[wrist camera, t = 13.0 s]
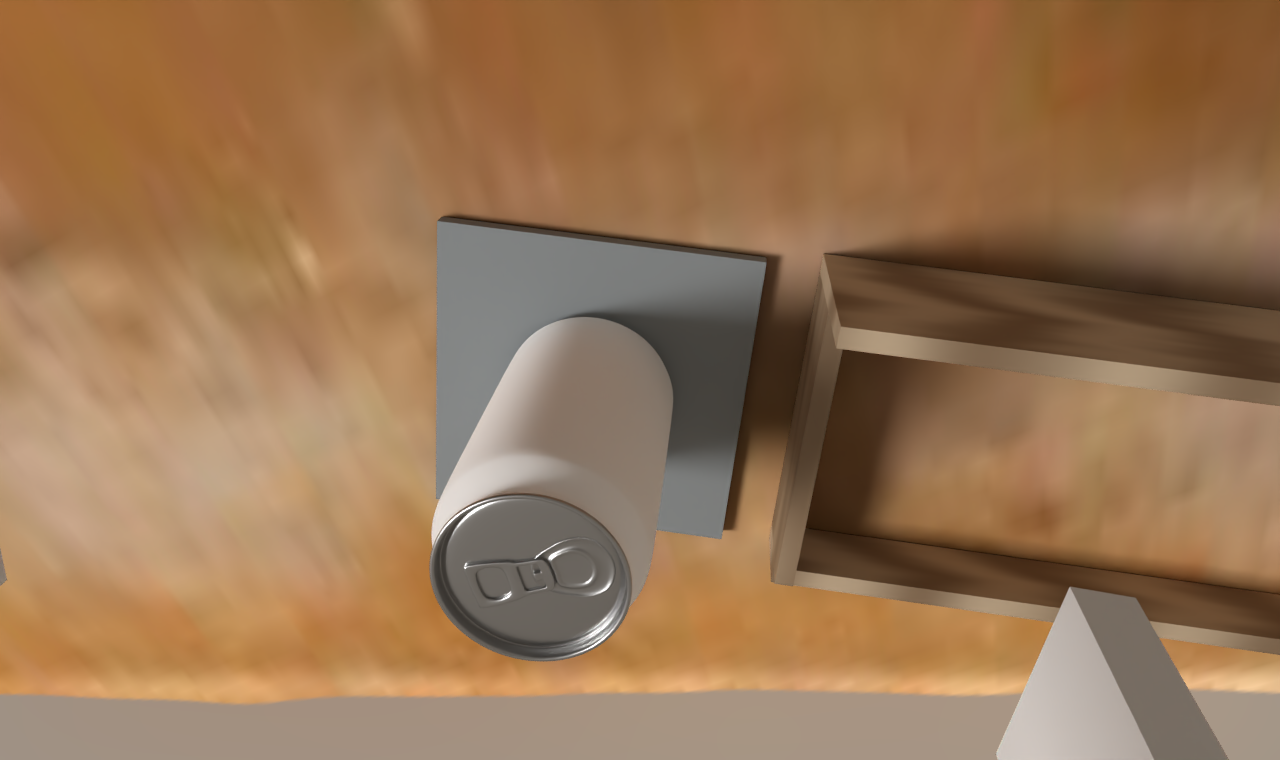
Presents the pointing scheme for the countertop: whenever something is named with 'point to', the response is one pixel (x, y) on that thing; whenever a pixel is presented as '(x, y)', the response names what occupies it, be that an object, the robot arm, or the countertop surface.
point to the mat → (612, 290)
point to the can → (556, 494)
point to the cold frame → (1029, 343)
